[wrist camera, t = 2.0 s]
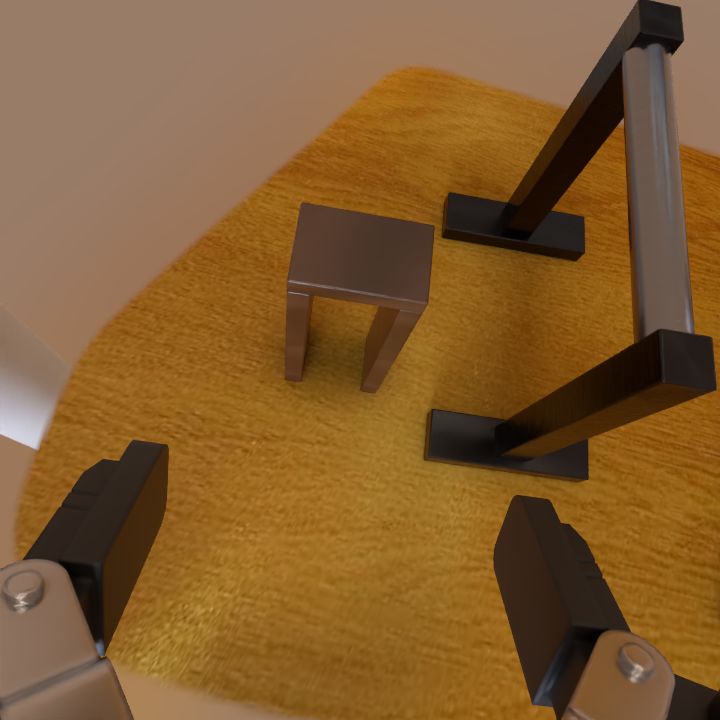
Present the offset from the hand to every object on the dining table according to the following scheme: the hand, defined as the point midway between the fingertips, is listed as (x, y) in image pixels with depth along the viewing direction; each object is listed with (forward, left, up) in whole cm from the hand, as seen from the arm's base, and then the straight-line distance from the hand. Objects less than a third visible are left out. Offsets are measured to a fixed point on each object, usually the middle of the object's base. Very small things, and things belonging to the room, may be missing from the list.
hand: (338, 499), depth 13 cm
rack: (+9, +11, -14) cm, 20 cm away
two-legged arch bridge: (0, +8, -14) cm, 16 cm away
